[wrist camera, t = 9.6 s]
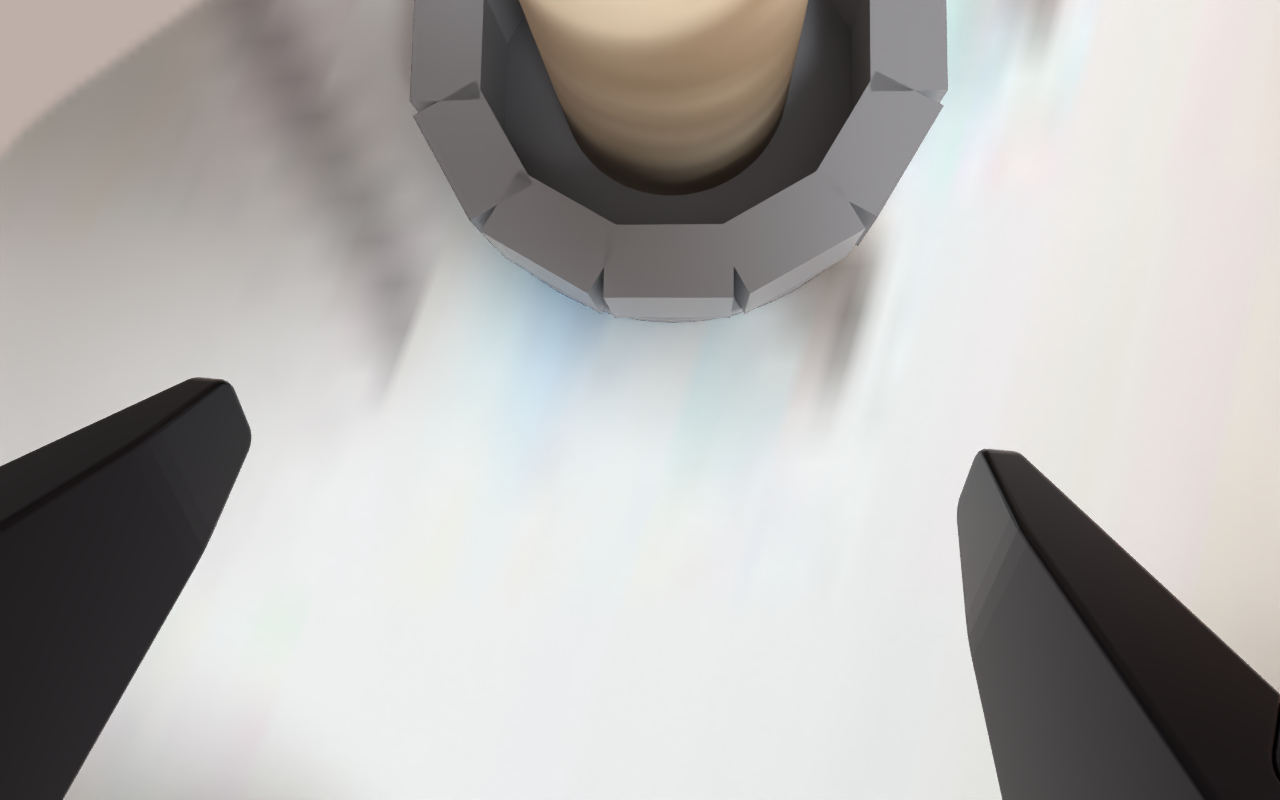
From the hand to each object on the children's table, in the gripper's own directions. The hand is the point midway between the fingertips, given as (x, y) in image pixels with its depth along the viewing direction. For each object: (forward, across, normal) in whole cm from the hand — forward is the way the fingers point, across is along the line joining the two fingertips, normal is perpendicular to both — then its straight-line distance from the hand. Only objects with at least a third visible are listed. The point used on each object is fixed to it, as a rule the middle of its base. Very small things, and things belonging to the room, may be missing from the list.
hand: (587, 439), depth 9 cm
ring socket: (+12, 0, 0) cm, 12 cm away
